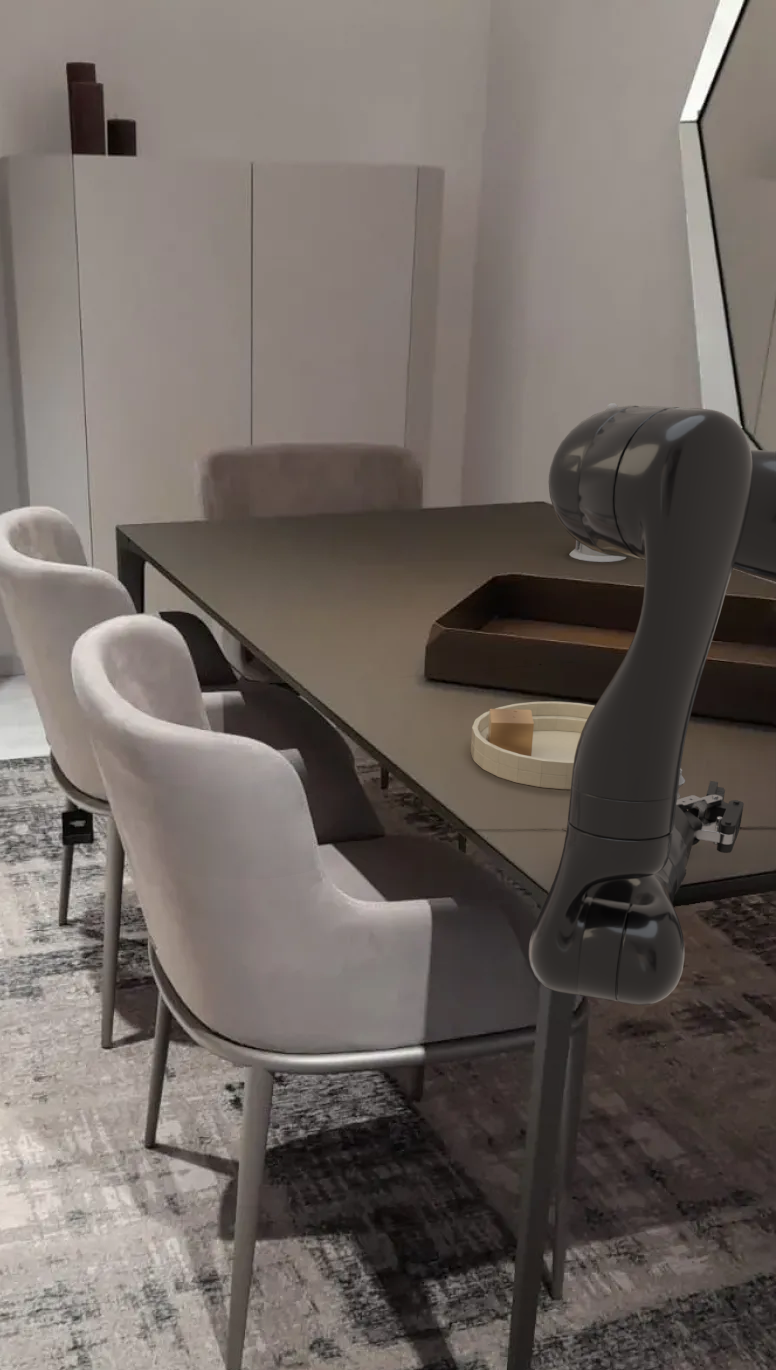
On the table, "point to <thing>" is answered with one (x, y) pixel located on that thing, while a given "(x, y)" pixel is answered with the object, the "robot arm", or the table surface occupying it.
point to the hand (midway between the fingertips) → (663, 784)
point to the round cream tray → (535, 745)
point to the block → (511, 730)
